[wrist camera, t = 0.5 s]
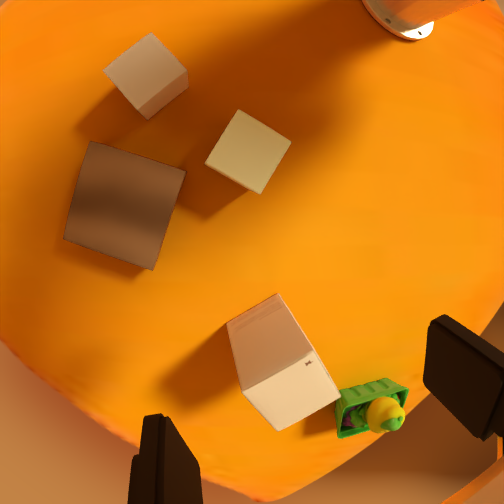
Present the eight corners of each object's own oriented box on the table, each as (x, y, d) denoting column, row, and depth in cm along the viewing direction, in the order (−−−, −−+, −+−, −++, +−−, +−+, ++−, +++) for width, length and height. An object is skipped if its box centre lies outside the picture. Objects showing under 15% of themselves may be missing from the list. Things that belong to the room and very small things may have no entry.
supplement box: (223, 322, 36) (238, 391, 24) (278, 290, 36) (317, 348, 24) (253, 363, 38) (276, 434, 26) (304, 335, 38) (344, 397, 26)
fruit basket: (325, 419, 44) (352, 469, 33) (331, 379, 41) (365, 431, 31) (384, 402, 46) (417, 444, 35) (395, 363, 43) (435, 404, 32)
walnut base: (102, 143, 29) (90, 140, 25) (187, 171, 31) (185, 171, 27) (76, 231, 30) (63, 239, 27) (157, 259, 33) (152, 270, 29)
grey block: (158, 54, 27) (151, 32, 21) (188, 87, 28) (187, 70, 23) (117, 86, 27) (102, 70, 21) (147, 120, 29) (137, 110, 23)
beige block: (230, 119, 30) (238, 109, 24) (275, 146, 32) (291, 141, 26) (203, 164, 31) (205, 162, 25) (249, 189, 32) (260, 194, 27)
